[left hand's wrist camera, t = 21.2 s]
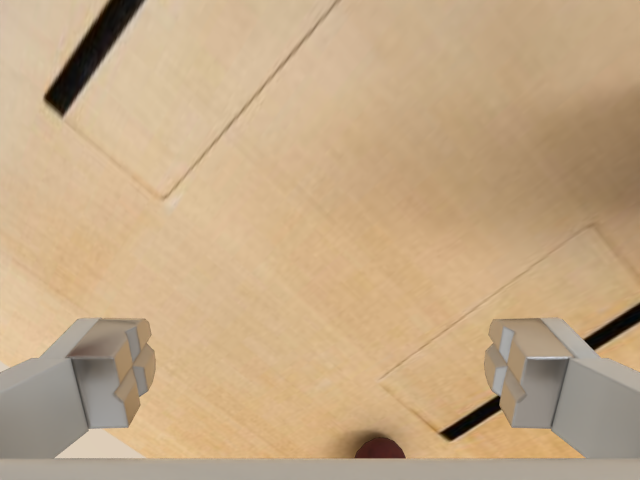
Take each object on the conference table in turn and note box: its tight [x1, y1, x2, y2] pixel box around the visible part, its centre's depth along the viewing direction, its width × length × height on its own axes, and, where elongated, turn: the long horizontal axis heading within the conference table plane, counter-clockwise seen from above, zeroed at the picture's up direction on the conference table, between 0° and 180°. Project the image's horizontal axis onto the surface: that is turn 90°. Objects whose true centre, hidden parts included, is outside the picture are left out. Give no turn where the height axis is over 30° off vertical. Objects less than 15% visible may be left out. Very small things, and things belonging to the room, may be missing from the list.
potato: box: [355, 438, 406, 459], centre depth 58 cm, size 7×8×7 cm
